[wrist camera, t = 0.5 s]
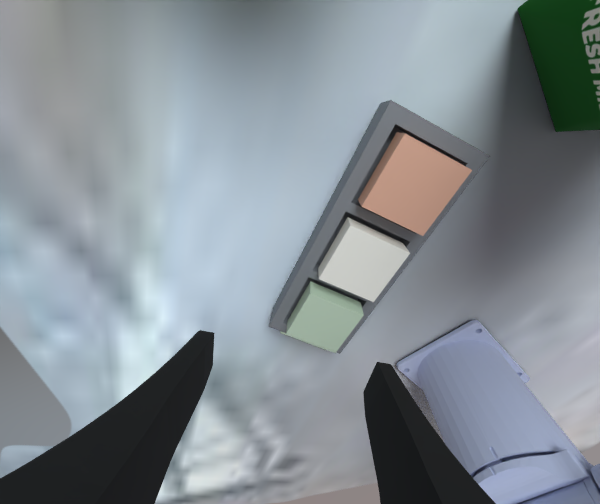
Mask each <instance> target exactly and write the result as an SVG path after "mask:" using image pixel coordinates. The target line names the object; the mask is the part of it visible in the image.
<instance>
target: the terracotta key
mask: <svg viewBox="0 0 600 504" xmlns="http://www.w3.org/2000/svg"><path fill="white" fill-rule="evenodd" d="M471 171H472V170H471V169H469V168H468V167H466V166H464V165H462V164H460V163H458V162H457V161H455V160H453V159H451V158H449V157H447V156H446V155H444V154H442V153H440V152H438V151H436V150H435V149H433V148H431V147H429V146H427V145H425V144H424V143H422V142H420V141H418V140H416V139H414V138H413V137H411V136H409V135H407V134H405V133H399V132H397V133H396V134H395V136H394V138H393V139H392V141H391V143H390V145H389V146H388V148H387V150H386V152H385V153H384V155H383V157H382V159H381V160H380V162H379V164H378V165H377V167H376V169H375V171H374V172H373V174H372V176H371V178H370V179H369V181H368V183H367V184H366V186H365V188H364V190H363V191H362V193H361V195H360V197H359V198H358V201H359V203H360V205H361V206H362V207H364V208H366V209H368V210H370V211H372V212H374V213H376V214H378V215H380V216H382V217H384V218H386V219H388V220H390V221H393V222H395V223H397V224H399V225H401V226H403V227H405V228H407V229H409V230H411V231H413V232H415V233H417V234H420V235H422V236H424V234H425V233H426V232H427V230H428V229H429V228H430V226H431V225H432V224H433V222H434V221H435V220H436V218H437V217H438V216H439V214H440V213H441V212H442V210H443V209H444V208H445V206H446V205H447V204H448V202H449V201H450V200H451V198H452V197H453V195H454V194H455V193H456V191H457V190H458V189H459V187H460V186H461V185H462V183H463V182H464V181H465V179H466V178H467V177H468V175H469V174H470V173H471Z"/></svg>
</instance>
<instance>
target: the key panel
mask: <svg viewBox="0 0 600 504" xmlns="http://www.w3.org/2000/svg"><path fill="white" fill-rule="evenodd" d="M397 132H399V133H405V134H407V135H409V136H411V137H413V138H414V139H416V140H418V141H420V142H422V143H424V144H425V145H427V146H429V147H431V148H433V149H435V150H436V151H438V152H440V153H442V154H444V155H446V156H447V157H449V158H451V159H453V160H455V161H457V162H458V163H460V164H462V165H464V166H466V167H468V168H469V169H471V170H472V171H471V173H470V174H469V175H468V177H467V178H466V179H465V181H464V182H463V183H462V185H461V186H460V187H459V189H458V190H457V191H456V193H455V194H454V195H453V197H452V198H451V200H450V201H449V202H448V204H447V205H446V206H445V208H444V209H443V210H442V212H441V213H440V214H439V216H438V217H437V218H436V220H435V221H434V222H433V224H432V225H431V226H430V228H429V229H428V230H427V232H426V233H425V234H424V236H422V235H420V234H417V233H415V232H413V231H411V230H409V229H407V228H405V227H403V226H401V225H399V224H397V223H395V222H393V221H390V220H388V219H386V218H384V217H382V216H380V215H378V214H376V213H374V212H372V211H370V210H368V209H366V208H364V207H362V206H361V205H360V203H359V201H358V198H359V197H360V195H361V193H362V191H363V190H364V188H365V186H366V184H367V183H368V181H369V179H370V178H371V176H372V174H373V172H374V171H375V169H376V167H377V165H378V164H379V162H380V160H381V159H382V157H383V155H384V153H385V152H386V150H387V148H388V146H389V145H390V143H391V141H392V139H393V138H394V136H395V134H396V133H397ZM489 157H490V156H489V155H488V154H486V153H484V152H482V151H480V150H479V149H477V148H475V147H473V146H472V145H470V144H468V143H466V142H464V141H463V140H461V139H459V138H457V137H456V136H454V135H452V134H450V133H448V132H447V131H445V130H443V129H441V128H440V127H438V126H436V125H434V124H433V123H431V122H429V121H427V120H425V119H424V118H422V117H420V116H418V115H417V114H415V113H413V112H411V111H409V110H408V109H406V108H404V107H402V106H401V105H399V104H397V103H395V102H393V101H392V100H390V101H386V102H383V103H381V104H380V106H379V108H378V110H377V111H376V113H375V115H374V117H373V119H372V121H371V123H370V125H369V127H368V129H367V130H366V132H365V134H364V136H363V138H362V140H361V142H360V144H359V146H358V148H357V149H356V151H355V153H354V155H353V157H352V159H351V161H350V163H349V165H348V167H347V168H346V170H345V172H344V174H343V176H342V178H341V180H340V182H339V184H338V185H337V187H336V189H335V191H334V193H333V195H332V197H331V199H330V201H329V203H328V204H327V206H326V208H325V210H324V212H323V214H322V216H321V218H320V220H319V222H318V223H317V225H316V227H315V229H314V231H313V233H312V235H311V237H310V239H309V240H308V242H307V244H306V246H305V248H304V250H303V252H302V254H301V256H300V258H299V259H298V261H297V263H296V265H295V267H294V269H293V271H292V273H291V275H290V277H289V278H288V280H287V282H286V284H285V286H284V288H283V290H282V292H281V294H280V296H279V297H278V299H277V301H276V303H275V305H274V307H273V310H272V314H271V319H270V323H269V327H271V328H274V329H277V330H279V331H281V333H282V334H284V335H286V330H287V322H288V319H289V318H290V316H291V314H292V312H293V311H294V309H295V307H296V306H297V304H298V302H299V300H300V299H301V297H302V295H303V293H304V292H305V290H306V288H307V287H308V285H309V283H310V281H311V282H313V283H316V284H318V285H321V286H323V287H325V288H328V289H330V290H333V291H335V292H337V293H340V294H342V295H345V296H347V297H349V298H352V299H354V300H356V301H359V302H361V306H362V310H363V314H364V316H363V317H362V318H361V320H360V321H359V322H358V324H357V325H356V326H355V328H354V329H353V330H352V332H351V333H350V334H349V336H348V337H347V338H346V340H345V341H344V342H343V344H342V345H341V346H340V348H339V349H338V350H337V353H341V351H342V350H343V349H344V347H345V346H346V345H347V344H348V342H349V341H350V340H351V338H352V337H353V336H354V334H355V333H356V332H357V330H358V329H359V328H360V326H361V325H362V324H363V323H364V321H365V320H366V319H367V317H368V316H369V315H370V313H371V312H372V311H373V309H374V308H375V307H376V305H377V304H378V303H379V301H380V300H381V299H382V298H383V296H384V295H385V294H386V292H387V291H388V290H389V288H390V287H391V286H392V284H393V283H394V282H395V280H396V279H397V278H398V277H399V275H400V274H401V273H402V271H403V270H404V269H405V267H406V266H407V265H408V263H409V262H410V261H411V259H412V258H413V257H414V255H415V254H416V253H417V252H418V250H419V249H420V248H421V246H422V245H423V244H424V242H425V241H426V240H427V238H428V237H429V236H430V234H431V233H432V232H433V231H434V229H435V228H436V227H437V225H438V224H439V223H440V221H441V220H442V219H443V217H444V216H445V215H446V213H447V212H448V211H449V209H450V208H451V207H452V206H453V204H454V203H455V202H456V200H457V199H458V198H459V196H460V195H461V194H462V192H463V191H464V190H465V188H466V187H467V186H468V185H469V183H470V182H471V181H472V179H473V178H474V177H475V175H476V174H477V173H478V171H479V170H480V169H481V167H482V166H483V165H484V163H485V162H486V161H487V160H488V158H489ZM347 217H348V218H351V219H353V220H355V221H357V222H359V223H361V224H363V225H365V226H368V227H370V228H372V229H374V230H376V231H378V232H380V233H382V234H385V235H387V236H389V237H391V238H393V239H395V240H397V241H399V242H402V243H403V244H404V245H405V247H406V248H407V249H408V251H409V252H410V254H409V256H408V257H407V258H406V260H405V261H404V262H403V264H402V265H401V266H400V268H399V269H398V270H397V272H396V273H395V274H394V276H393V277H392V278H391V280H390V281H389V282H388V284H387V285H386V286H385V288H384V289H383V290H382V292H381V293H380V294H379V296H378V297H377V298H376V300H375V301H374V302H372V301H369V300H367V299H365V298H362V297H360V296H358V295H355V294H353V293H350V292H348V291H346V290H343V289H341V288H339V287H336V286H334V285H332V284H329V283H327V282H324V281H322V280H320V279H319V275H318V267H319V266H320V264H321V262H322V261H323V259H324V257H325V255H326V254H327V252H328V250H329V248H330V247H331V245H332V243H333V242H334V240H335V238H336V236H337V235H338V233H339V231H340V229H341V228H342V226H343V224H344V223H345V221H346V219H347ZM287 336H289V335H287ZM289 337H292V336H289ZM292 338H294V337H292ZM295 339H297V338H295ZM297 340H300V339H297ZM300 341H302V340H300ZM303 342H305V341H303ZM305 343H308V342H305ZM308 344H310V343H308ZM311 345H313V344H311ZM313 346H316V345H313ZM316 347H318V346H316ZM319 348H321V347H319ZM321 349H323V348H321ZM324 350H326V349H324Z"/></svg>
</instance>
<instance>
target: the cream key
mask: <svg viewBox="0 0 600 504" xmlns="http://www.w3.org/2000/svg"><path fill="white" fill-rule="evenodd" d="M409 254H410V252H409V251H408V249H407V248H406V247H405V245H404V244H403V243H402V242H399V241H397V240H395V239H393V238H391V237H389V236H387V235H385V234H382V233H380V232H378V231H376V230H374V229H372V228H370V227H368V226H365V225H363V224H361V223H359V222H357V221H355V220H353V219H351V218H348V217H347V219H346V221H345V223H344V224H343V226H342V228H341V229H340V231H339V233H338V235H337V236H336V238H335V240H334V242H333V243H332V245H331V247H330V248H329V250H328V252H327V254H326V255H325V257H324V259H323V261H322V262H321V264H320V266H319V267H318V275H319V279H320V280H322V281H324V282H327V283H329V284H332V285H334V286H336V287H339V288H341V289H343V290H346V291H348V292H350V293H353V294H355V295H358V296H360V297H362V298H365V299H367V300H369V301H372V302H374V301H375V300H376V298H377V297H378V296H379V294H380V293H381V292H382V290H383V289H384V288H385V286H386V285H387V284H388V282H389V281H390V280H391V278H392V277H393V276H394V274H395V273H396V272H397V270H398V269H399V268H400V266H401V265H402V264H403V262H404V261H405V260H406V258H407V257H408V256H409Z"/></svg>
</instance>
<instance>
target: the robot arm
mask: <svg viewBox="0 0 600 504" xmlns="http://www.w3.org/2000/svg"><path fill="white" fill-rule="evenodd" d="M477 329H478V330H477ZM213 347H214V333H212V332H206V331H201V330H200V331H198V332H197V333H196V334H195V335H194V336H193V337H192V338H191V339H190V340H189V341H188V342H187V343H186V344H185V345H184V346H183V347H182V348H181V349H180V350H179V351H178V352H177V353H176V354H175V355H174V356H173V357H172V358H171V359H170V360H169V361H168V362H167V363H166V364H164V365H163V366H162V367H161V368H160V369H159V370H158V371H157V372H156V373H155V374H153V375H152V376H151V377H150V378H149V379H147V380H146V381H145V382H144V383H143V384H141V385H140V386H139V387H138V388H137V389H136V390H134V391H133V392H132V393H131V394H129V395H128V396H127V397H125V398H124V399H123V400H122V401H120V402H119V403H118V404H116V405H115V406H114V407H112V408H111V409H110V410H108V411H107V412H105V413H104V414H103V415H101V416H100V417H98V418H97V419H95V420H94V421H93V422H91V423H90V424H88V425H87V426H85V427H84V428H82V429H81V430H79V431H78V432H76V433H75V434H73V435H72V436H70V437H69V438H67V439H66V440H64V441H62V442H61V443H59V444H58V445H56V446H54V447H53V448H51V449H50V450H48V451H46V452H45V453H43V454H41V455H40V456H38V457H37V458H35V459H33V460H32V461H30V462H28V463H27V464H25V465H23V466H22V467H20V468H18V469H16V470H15V471H13V472H11V473H9V474H8V475H6V476H4V477H2V478H0V504H154V503H155V501H156V498H157V495H158V492H159V490H160V487H161V485H162V482H163V479H164V477H165V474H166V472H167V469H168V467H169V464H170V461H171V459H172V457H173V454H174V452H175V450H176V448H177V445H178V443H179V441H180V439H181V437H182V435H183V433H184V431H185V429H186V427H187V425H188V422H189V420H190V418H191V416H192V414H193V412H194V410H195V408H196V406H197V404H198V401H199V399H200V397H201V395H202V393H203V391H204V388H205V386H206V383H207V380H208V377H209V375H210V372H211V369H212V366H213ZM397 368H398V370H400V371H401V372H402V373H403V374H404V375H405V376H406V377H408V378H409V379H410V380H411V381H412V382H413V383H415V384H416V385H417V386H418V387H419V388H420V389H422V390H423V391H424V393H425V396H426V398H427V401H428V403H429V405H430V408H431V410H432V413H433V415H434V418H435V420H436V423H437V425H438V428H439V430H440V432H441V435H442V437H443V440H444V442H445V443H444V442H443V441H442V439H441V438H440V437H439V435H438V434H437V433H436V431H435V430H434V428H433V427H432V426H431V424H430V423H429V422H428V420H427V419H426V417H425V416H424V414H423V413H422V411H421V410H420V408H419V407H418V406H417V404H416V403H415V401H414V400H413V398H412V396H411V395H410V393H409V392H408V390H407V389H406V387H405V386H404V384H403V383H402V381H401V379H400V378H399V376H398V375H397V373H396V372H395V370H394V369H393V367H392V366H391V364H386V363H380V362H377V363H376V366H375V368H374V370H373V372H372V374H371V377H370V379H369V381H368V383H367V385H366V388H365V390H364V406H365V417H366V423H367V428H368V434H369V439H370V444H371V449H372V454H373V460H374V465H375V470H376V475H377V481H378V487H379V492H380V502H381V504H600V464H597V465H595V466H593V465H591V464H590V463H588V461H587V460H586V459H585V458H584V456H583V455H582V454H581V453H580V451H579V450H578V449H577V448H576V446H575V445H574V444H573V443H572V441H571V440H570V439H569V438H568V436H567V435H566V434H565V433H564V431H563V430H562V429H561V428H560V427H559V425H558V424H557V423H556V422H555V420H554V419H553V418H552V417H551V415H550V414H549V413H548V412H547V410H546V409H545V408H544V407H543V405H542V404H541V403H540V402H539V400H538V399H537V398H536V397H535V395H534V394H533V393H532V392H531V390H530V389H529V388H528V387H527V386H526V384H525V383H527V382H528V381H529V380H530V378H529V376H528V375H527V374H526V373H525V372H524V371H523V370H522V368H521V367H520V366H519V365H518V364H517V363H516V362H515V361H514V360H513V358H512V357H511V356H510V355H509V354H508V353H507V352H506V351H505V350H504V348H503V347H502V346H501V345H500V344H499V343H498V342H497V341H496V340H495V339H494V337H493V336H492V335H491V334H490V333H489V332H488V331H487V330H486V329H485V327H484V326H483V325H482V324H481V323H480V322H479V321H478V320H472V321H470V322H468V323H466V324H464V325H463V326H461V327H459V328H457V329H455V330H454V331H452V332H450V333H448V334H447V335H445V336H443V337H441V338H440V339H438V340H436V341H434V342H432V343H431V344H429V345H427V346H425V347H424V348H422V349H420V350H418V351H417V352H415V353H413V354H411V355H409V356H408V357H406V358H404V359H402V360H401V361H399V362H398V363H397Z"/></svg>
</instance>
